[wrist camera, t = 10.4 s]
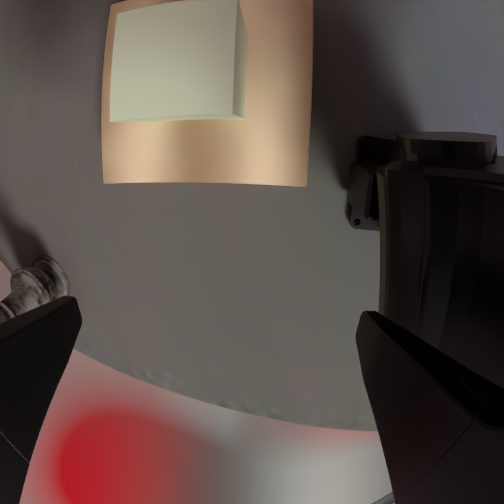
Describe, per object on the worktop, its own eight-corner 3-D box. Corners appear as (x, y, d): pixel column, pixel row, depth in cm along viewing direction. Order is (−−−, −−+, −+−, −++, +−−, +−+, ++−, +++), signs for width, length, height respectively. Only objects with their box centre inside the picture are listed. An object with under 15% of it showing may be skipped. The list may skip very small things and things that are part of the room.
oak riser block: (305, 11, 14) (312, -12, 11) (299, 176, 19) (306, 187, 16) (136, 21, 15) (111, 4, 11) (131, 173, 20) (103, 183, 16)
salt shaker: (48, 242, 23) (-40, 309, 12) (82, 294, 24) (9, 377, 13) (23, 266, 24) (-51, 328, 13) (53, 311, 26) (-10, 384, 15)
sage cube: (247, 33, 12) (237, -4, 8) (244, 119, 14) (232, 113, 10) (158, 40, 13) (117, 13, 8) (154, 121, 15) (109, 121, 10)
